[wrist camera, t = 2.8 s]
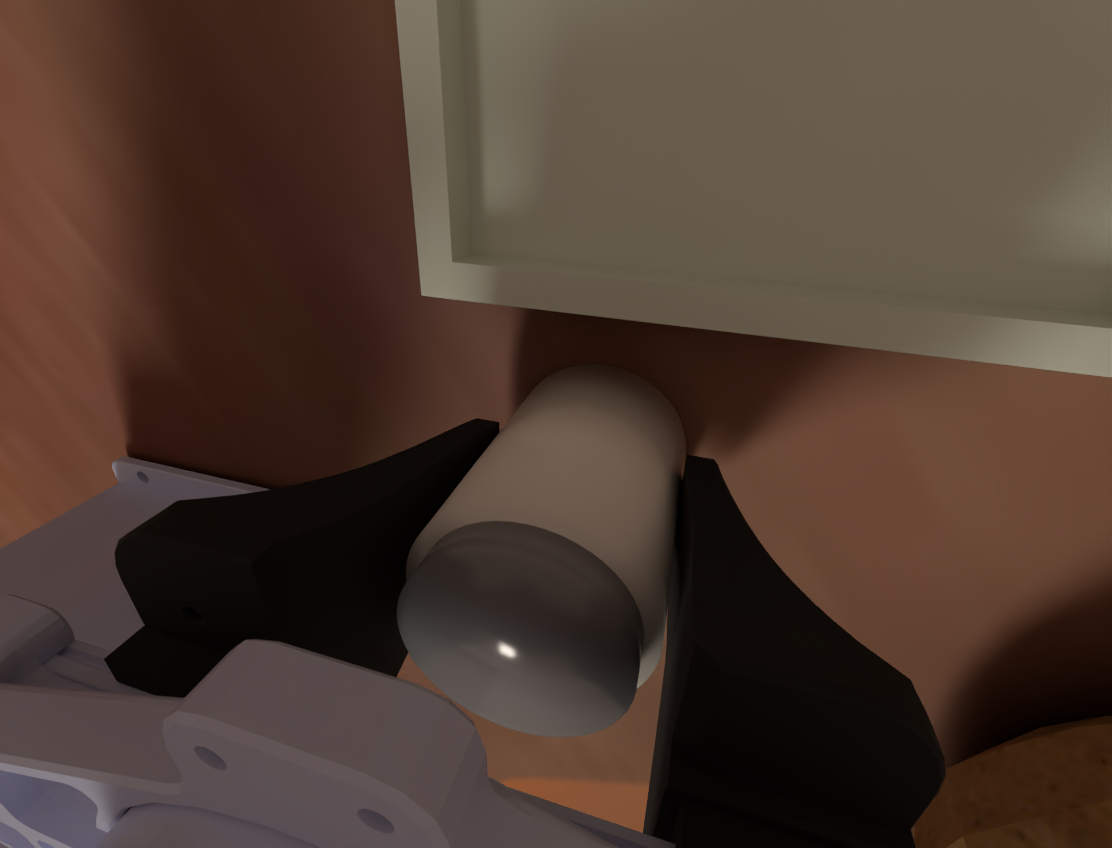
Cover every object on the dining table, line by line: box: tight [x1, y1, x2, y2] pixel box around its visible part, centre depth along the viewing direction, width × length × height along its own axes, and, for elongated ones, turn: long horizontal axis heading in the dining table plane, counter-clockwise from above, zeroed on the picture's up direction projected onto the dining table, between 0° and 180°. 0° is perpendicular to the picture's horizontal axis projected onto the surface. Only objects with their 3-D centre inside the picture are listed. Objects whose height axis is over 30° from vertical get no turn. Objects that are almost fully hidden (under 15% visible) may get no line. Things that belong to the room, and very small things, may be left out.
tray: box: [395, 0, 1112, 377], centre depth 8 cm, size 14×10×2 cm
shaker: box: [397, 364, 686, 737], centre depth 11 cm, size 5×5×7 cm
